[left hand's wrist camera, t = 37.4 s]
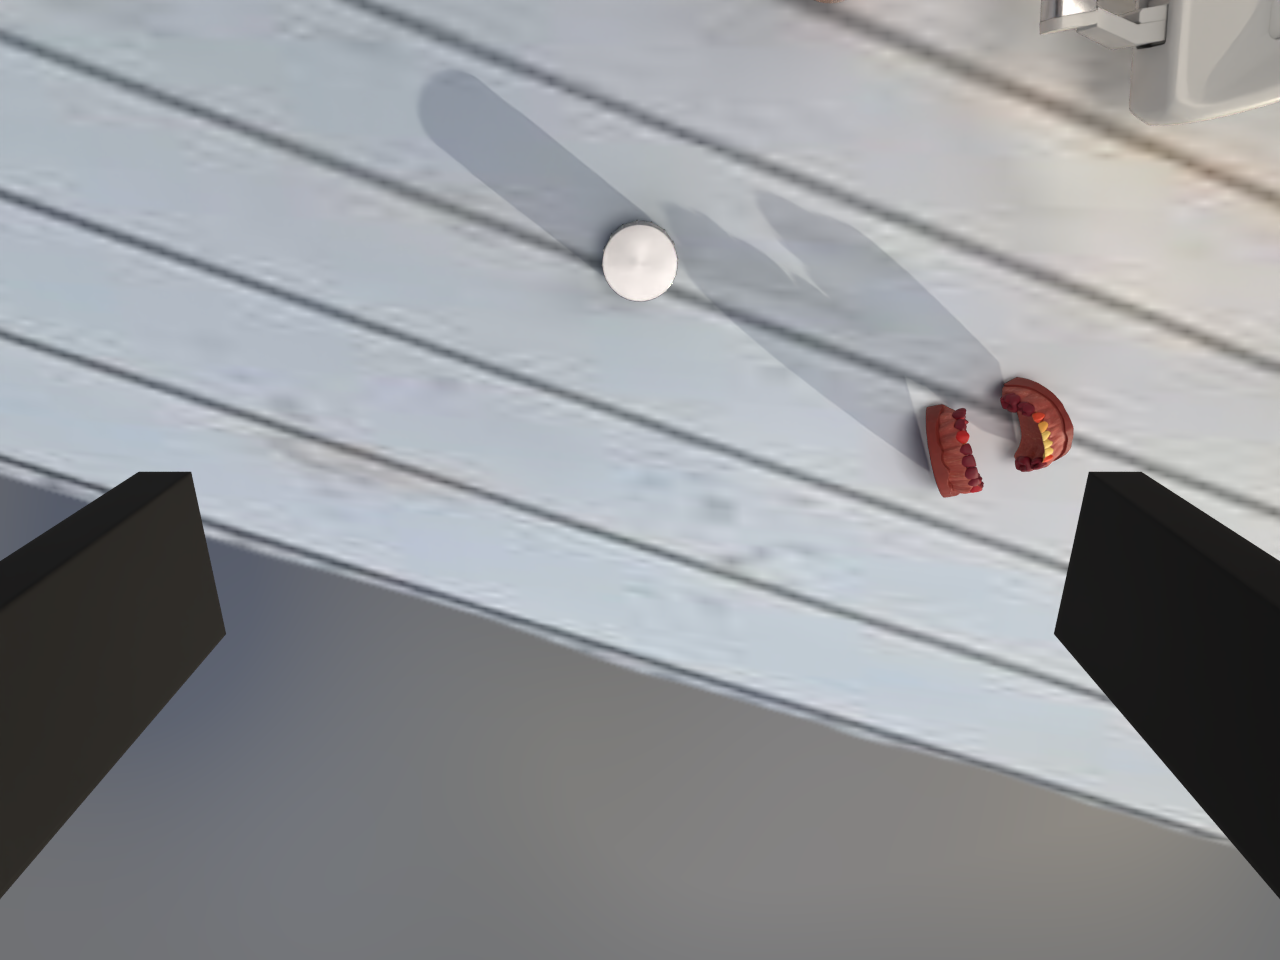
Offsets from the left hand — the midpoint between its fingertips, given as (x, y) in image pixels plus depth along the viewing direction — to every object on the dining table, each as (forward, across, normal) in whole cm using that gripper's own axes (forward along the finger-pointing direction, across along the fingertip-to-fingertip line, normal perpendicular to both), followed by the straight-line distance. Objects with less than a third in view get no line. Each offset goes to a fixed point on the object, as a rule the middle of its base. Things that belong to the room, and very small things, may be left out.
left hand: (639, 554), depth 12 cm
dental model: (+37, +21, -10) cm, 43 cm away
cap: (+35, 0, 0) cm, 35 cm away
